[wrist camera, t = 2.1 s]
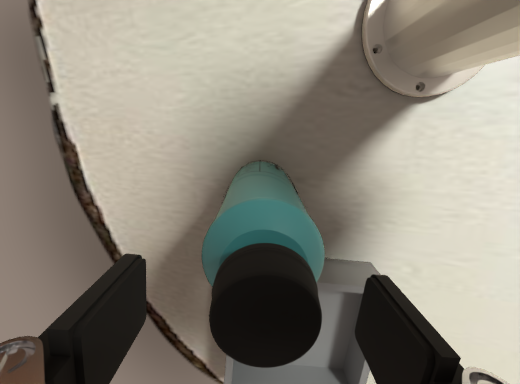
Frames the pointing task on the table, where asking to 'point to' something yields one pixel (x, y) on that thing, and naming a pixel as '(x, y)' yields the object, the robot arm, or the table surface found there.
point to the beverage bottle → (263, 270)
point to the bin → (323, 335)
